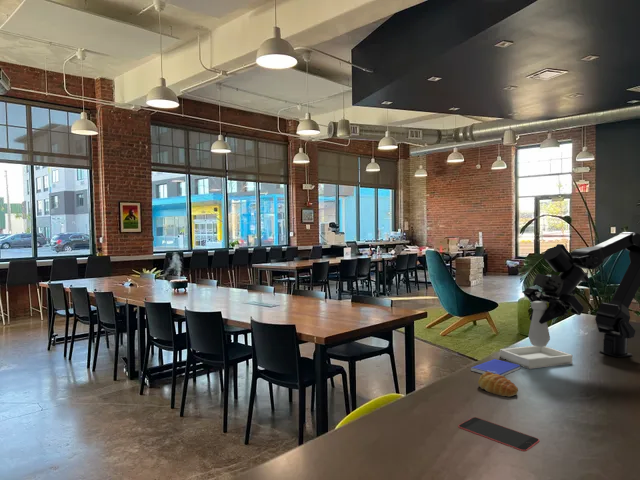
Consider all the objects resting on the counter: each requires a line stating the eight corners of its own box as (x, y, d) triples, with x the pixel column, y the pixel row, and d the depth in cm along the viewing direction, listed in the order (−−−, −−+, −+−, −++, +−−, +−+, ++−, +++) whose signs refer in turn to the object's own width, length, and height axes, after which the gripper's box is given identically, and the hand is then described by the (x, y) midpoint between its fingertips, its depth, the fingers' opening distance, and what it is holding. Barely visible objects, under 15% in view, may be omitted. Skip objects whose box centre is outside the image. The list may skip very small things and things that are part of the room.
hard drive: (498, 374, 123) (520, 364, 131) (470, 366, 129) (493, 358, 137) (498, 379, 123) (520, 370, 131) (470, 372, 129) (493, 363, 138)
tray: (540, 352, 147) (540, 344, 147) (572, 363, 136) (572, 355, 136) (499, 357, 142) (499, 349, 142) (528, 369, 131) (529, 360, 130)
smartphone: (524, 451, 83) (456, 425, 93) (525, 454, 83) (456, 428, 93) (541, 439, 88) (474, 416, 98) (541, 442, 88) (474, 418, 98)
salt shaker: (527, 341, 141) (527, 299, 140) (548, 343, 139) (548, 300, 138) (529, 346, 135) (529, 302, 135) (551, 348, 133) (551, 303, 133)
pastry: (524, 395, 111) (525, 379, 111) (506, 400, 108) (506, 384, 108) (492, 383, 119) (493, 368, 119) (474, 388, 116) (474, 373, 116)
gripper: (528, 262, 146) (498, 298, 144) (575, 267, 128) (542, 309, 126) (548, 285, 149) (519, 321, 146) (598, 293, 131) (566, 335, 128)
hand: (535, 321), depth 136 cm, fingers closed on salt shaker, 3 cm apart
